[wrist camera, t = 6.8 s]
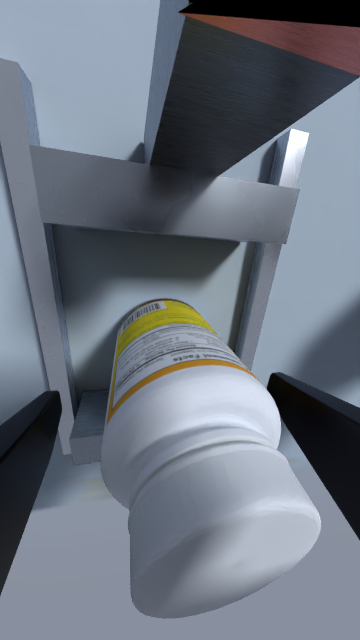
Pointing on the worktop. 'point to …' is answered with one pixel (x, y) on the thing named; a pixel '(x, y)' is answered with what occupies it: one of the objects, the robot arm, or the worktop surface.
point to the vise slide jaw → (211, 121)
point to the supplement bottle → (197, 467)
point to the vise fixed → (41, 266)
